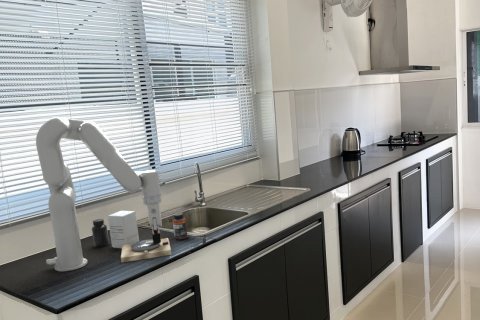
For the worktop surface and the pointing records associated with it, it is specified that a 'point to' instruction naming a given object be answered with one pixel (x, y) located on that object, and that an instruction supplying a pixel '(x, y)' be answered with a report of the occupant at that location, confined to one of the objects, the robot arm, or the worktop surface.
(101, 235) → the supplement bottle
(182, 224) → the supplement bottle
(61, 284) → the worktop surface
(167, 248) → the board
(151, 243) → the dial
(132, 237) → the supplement box
